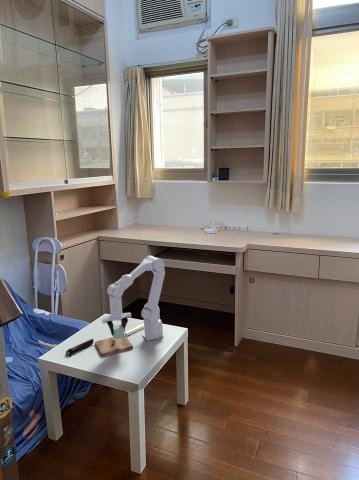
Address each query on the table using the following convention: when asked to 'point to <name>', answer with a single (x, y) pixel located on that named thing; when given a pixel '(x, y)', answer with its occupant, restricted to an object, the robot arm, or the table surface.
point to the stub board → (113, 345)
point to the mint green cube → (118, 331)
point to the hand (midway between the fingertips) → (117, 333)
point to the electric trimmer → (79, 347)
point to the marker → (134, 330)
